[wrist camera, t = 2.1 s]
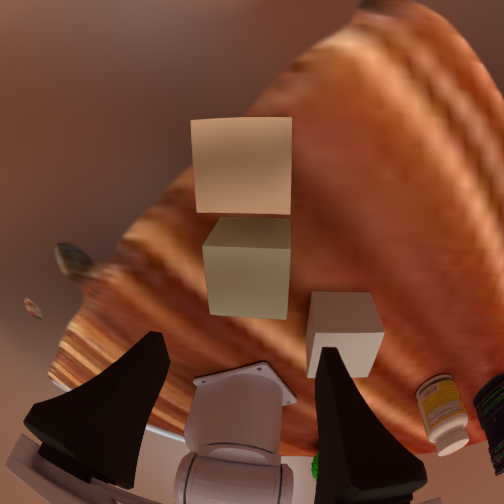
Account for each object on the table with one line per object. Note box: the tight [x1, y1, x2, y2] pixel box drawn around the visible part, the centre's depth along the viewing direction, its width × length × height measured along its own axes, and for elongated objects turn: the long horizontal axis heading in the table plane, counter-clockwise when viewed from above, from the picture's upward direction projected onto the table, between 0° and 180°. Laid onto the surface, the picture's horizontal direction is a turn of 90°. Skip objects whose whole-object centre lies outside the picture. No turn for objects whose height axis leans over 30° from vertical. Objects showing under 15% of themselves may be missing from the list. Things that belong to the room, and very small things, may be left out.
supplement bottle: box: [416, 374, 469, 456], centre depth 22 cm, size 5×5×10 cm
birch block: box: [191, 117, 292, 215], centre depth 16 cm, size 5×5×5 cm
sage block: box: [202, 217, 291, 320], centre depth 19 cm, size 5×5×5 cm
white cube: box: [306, 291, 385, 378], centre depth 21 cm, size 5×5×5 cm
